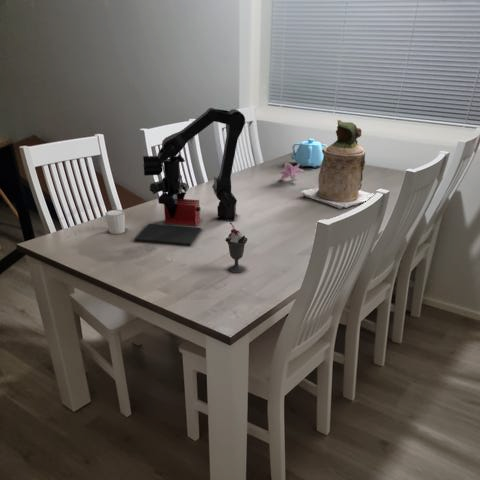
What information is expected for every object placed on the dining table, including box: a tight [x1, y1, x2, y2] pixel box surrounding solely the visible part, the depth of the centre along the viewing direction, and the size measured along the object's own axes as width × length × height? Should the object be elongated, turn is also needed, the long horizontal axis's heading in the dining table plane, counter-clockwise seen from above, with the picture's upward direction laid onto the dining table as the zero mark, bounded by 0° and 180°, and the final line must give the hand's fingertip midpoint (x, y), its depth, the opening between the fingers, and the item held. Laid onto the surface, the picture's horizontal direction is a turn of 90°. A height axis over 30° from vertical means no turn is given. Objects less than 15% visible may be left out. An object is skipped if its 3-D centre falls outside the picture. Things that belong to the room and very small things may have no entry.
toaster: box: [163, 198, 202, 227], centre depth 182 cm, size 13×6×8 cm, turn 80°
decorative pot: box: [290, 138, 328, 168], centre depth 255 cm, size 16×16×14 cm
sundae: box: [225, 222, 248, 274], centre depth 145 cm, size 7×7×15 cm
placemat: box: [134, 223, 202, 247], centre depth 172 cm, size 20×15×1 cm
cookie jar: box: [300, 119, 375, 210], centre depth 203 cm, size 25×25×32 cm
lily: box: [277, 162, 305, 184], centre depth 229 cm, size 12×12×10 cm
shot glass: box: [105, 209, 126, 235], centre depth 174 cm, size 7×7×7 cm
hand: (175, 215), depth 184 cm, fingers closed on toaster, 6 cm apart
